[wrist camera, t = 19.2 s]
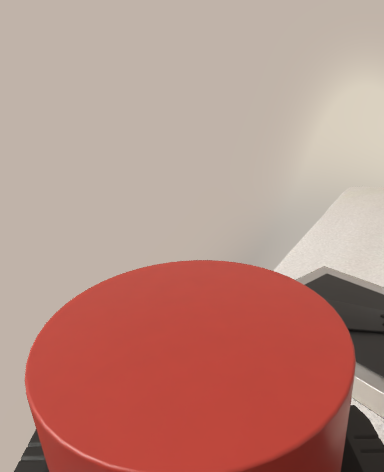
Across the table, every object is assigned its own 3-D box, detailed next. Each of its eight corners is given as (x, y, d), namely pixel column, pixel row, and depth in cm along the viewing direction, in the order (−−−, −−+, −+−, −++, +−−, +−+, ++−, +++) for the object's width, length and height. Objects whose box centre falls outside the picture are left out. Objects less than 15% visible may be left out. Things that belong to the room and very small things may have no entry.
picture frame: (238, 323, 36) (473, 478, 20) (238, 300, 35) (485, 444, 19) (322, 279, 44) (535, 363, 28) (324, 261, 43) (546, 336, 27)
